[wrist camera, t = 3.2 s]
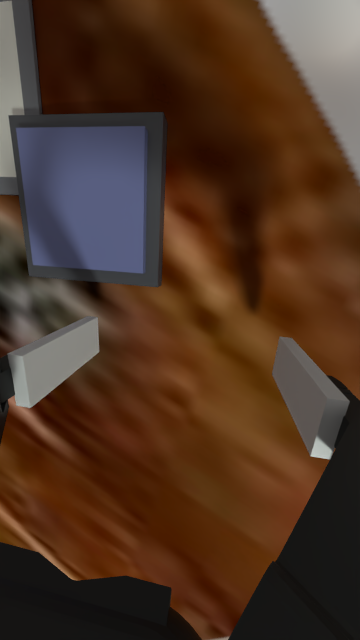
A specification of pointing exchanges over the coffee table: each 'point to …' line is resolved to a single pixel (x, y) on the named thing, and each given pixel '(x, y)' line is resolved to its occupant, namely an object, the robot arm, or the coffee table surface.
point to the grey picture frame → (16, 80)
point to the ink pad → (92, 195)
